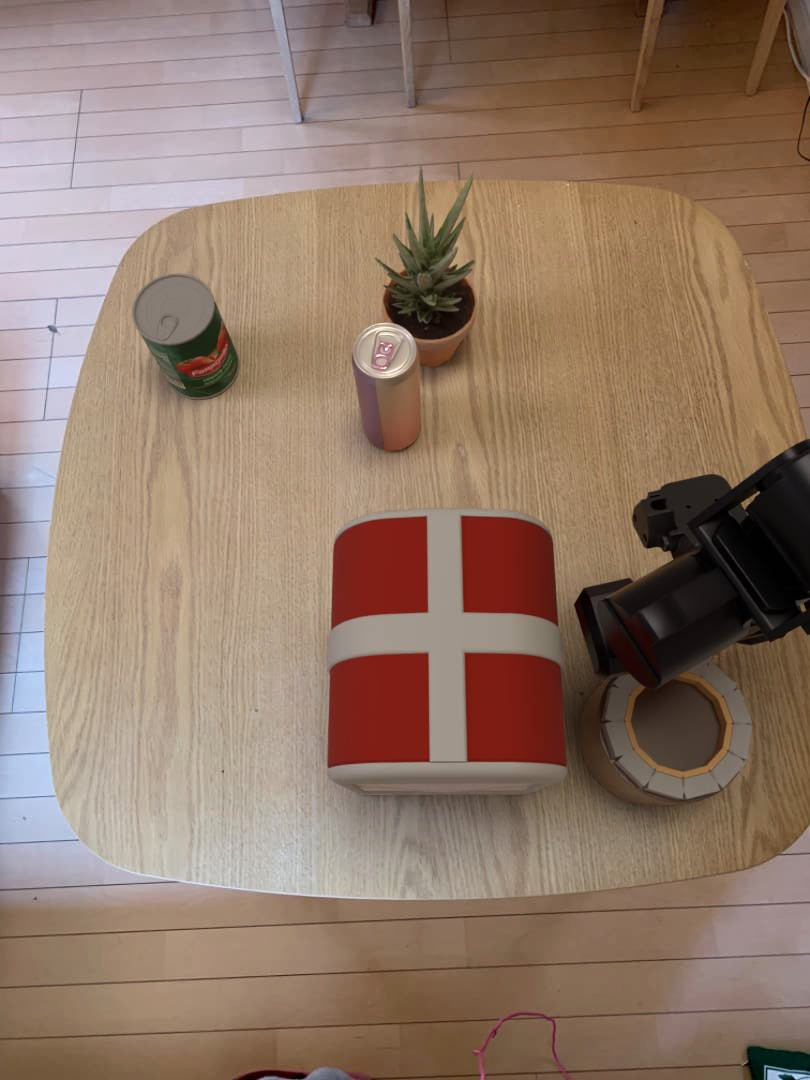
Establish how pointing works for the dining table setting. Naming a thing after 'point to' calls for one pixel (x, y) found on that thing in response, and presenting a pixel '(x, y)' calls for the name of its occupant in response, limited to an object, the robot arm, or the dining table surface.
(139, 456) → the dining table surface
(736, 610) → the robot arm
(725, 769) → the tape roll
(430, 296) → the potted plant
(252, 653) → the dining table surface
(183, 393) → the canned tomato
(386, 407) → the beverage can
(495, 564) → the red gift box
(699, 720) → the brown cylindrical pot
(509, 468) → the dining table surface
